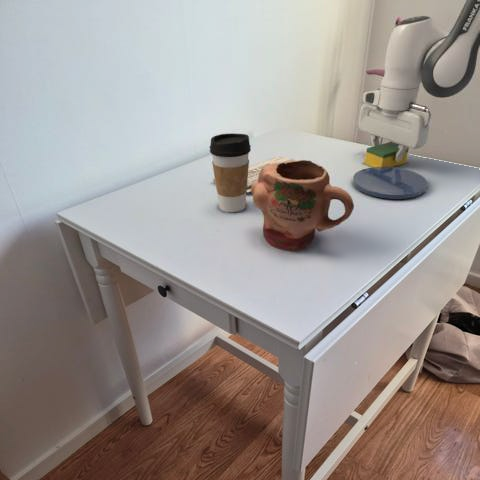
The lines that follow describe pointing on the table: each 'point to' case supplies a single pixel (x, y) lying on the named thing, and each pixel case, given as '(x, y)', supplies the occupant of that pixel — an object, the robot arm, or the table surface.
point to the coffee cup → (231, 169)
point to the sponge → (384, 155)
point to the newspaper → (255, 170)
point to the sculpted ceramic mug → (296, 202)
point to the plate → (390, 182)
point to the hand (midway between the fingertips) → (386, 156)
